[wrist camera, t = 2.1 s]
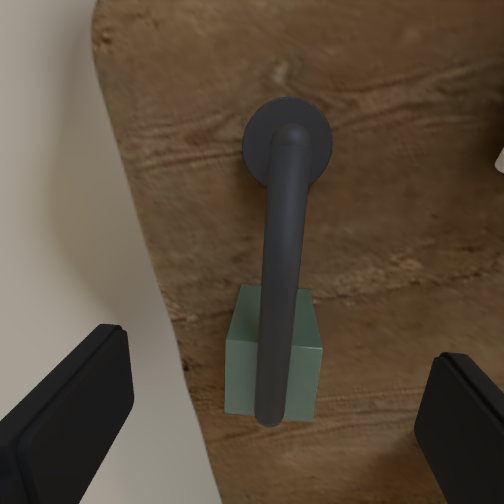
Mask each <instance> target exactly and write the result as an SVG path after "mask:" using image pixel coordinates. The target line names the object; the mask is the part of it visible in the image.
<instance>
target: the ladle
mask: <svg viewBox="0 0 504 504" xmlns="http://www.w3.org/2000/svg"><path fill="white" fill-rule="evenodd" d="M242 149H243V157H244V161H245V164H246V166H247V168H248V170H249V172H250V173H251V175H252V176H253V177H254V178H255V179H256V180H257V181H258V182H259V183H260V184H262V185H263V186H265V187H266V188H267V199H266V215H265V232H264V249H263V266H262V283H261V300H260V317H259V333H258V350H257V367H256V384H255V401H254V414H255V417H256V419H257V421H258V422H259V423H260V424H261V425H263V426H265V427H275V426H277V425H278V424H279V423H280V422H281V421H282V419H283V417H284V413H285V404H286V394H287V385H288V375H289V366H290V356H291V347H292V337H293V328H294V318H295V309H296V299H297V290H298V280H299V271H300V261H301V252H302V242H303V233H304V223H305V214H306V204H307V195H308V186H309V185H310V184H312V183H313V182H314V181H315V180H316V179H317V178H319V176H320V175H321V174H322V173H323V171H324V170H325V168H326V166H327V164H328V162H329V159H330V156H331V152H332V134H331V129H330V126H329V124H328V122H327V120H326V118H325V116H324V115H323V113H322V112H321V111H320V110H319V109H318V108H317V107H316V106H314V105H313V104H311V103H310V102H308V101H306V100H303V99H300V98H294V97H284V98H278V99H275V100H272V101H270V102H268V103H266V104H265V105H263V106H262V107H261V108H260V109H259V110H257V111H256V113H255V114H254V115H253V116H252V118H251V119H250V121H249V122H248V124H247V126H246V129H245V132H244V136H243V144H242Z"/></svg>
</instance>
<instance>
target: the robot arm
mask: <svg viewBox="0 0 504 504" xmlns="http://www.w3.org/2000/svg"><path fill="white" fill-rule="evenodd" d="M133 403H134V391H133V382H132V372H131V363H130V354H129V345H128V336H127V332H126V331H125V330H122V327H121V326H120V325H113V324H112V325H111V324H100V325H98V326H97V327H96V328H95V329H94V330H93V331H92V332H91V333H90V334H89V335H88V336H87V337H86V338H85V339H84V340H83V341H82V342H81V343H80V344H79V345H78V346H77V347H76V348H75V349H74V350H73V351H72V352H71V353H70V354H69V355H68V356H67V357H66V358H64V359H63V360H62V361H61V362H60V363H59V364H58V365H57V366H56V367H55V368H54V369H53V370H52V371H51V372H50V373H49V374H48V375H47V376H46V377H45V378H44V379H43V380H42V381H41V382H40V383H39V384H38V385H37V386H36V387H35V388H34V389H33V390H32V391H31V392H30V393H29V394H28V395H27V396H26V397H25V398H24V399H23V400H22V401H20V402H19V403H18V405H16V406H15V407H14V408H13V409H12V410H11V411H10V412H9V413H8V414H7V415H6V416H5V417H4V418H3V419H2V420H1V421H0V504H79V503H80V501H81V499H82V497H83V495H84V494H85V492H86V490H87V488H88V486H89V485H90V483H91V481H92V479H93V477H94V476H95V474H96V472H97V470H98V468H99V467H100V465H101V463H102V461H103V460H104V458H105V456H106V454H107V453H108V451H109V449H110V447H111V445H112V444H113V442H114V440H115V438H116V436H117V434H118V433H119V431H120V429H121V427H122V426H123V424H124V422H125V420H126V419H127V417H128V415H129V413H130V411H131V409H132V407H133ZM414 432H415V436H416V439H417V441H418V443H419V445H420V447H421V449H422V451H423V453H424V455H425V458H426V460H427V462H428V464H429V466H430V468H431V470H432V472H433V474H434V476H435V478H436V480H437V482H438V484H439V486H440V488H441V490H442V492H443V494H444V496H445V498H446V500H447V503H448V504H504V393H503V392H502V391H501V390H500V389H499V388H498V387H497V386H496V385H495V384H494V383H493V382H492V381H491V379H490V378H489V377H488V376H487V375H486V374H485V373H484V372H483V371H482V370H481V369H480V368H479V367H478V366H477V365H476V364H475V362H474V361H473V360H472V359H471V358H470V357H469V356H467V355H466V354H460V353H448V352H443V353H441V354H440V356H439V357H436V358H434V361H433V364H432V367H431V370H430V374H429V377H428V381H427V384H426V387H425V391H424V394H423V397H422V401H421V404H420V408H419V411H418V414H417V418H416V421H415V425H414Z"/></svg>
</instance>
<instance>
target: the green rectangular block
mask: <svg viewBox="0 0 504 504" xmlns="http://www.w3.org/2000/svg"><path fill="white" fill-rule="evenodd" d="M260 300H261V286H259V285H246V284H241V286H240V290H239V293H238V297H237V301H236V304H235V308H234V312H233V315H232V319H231V323H230V326H229V330H228V334H227V337H226V352H225V413H230V414H240V415H249V416H255V414H254V401H255V384H256V367H257V350H258V333H259V317H260ZM322 354H323V345H322V341H321V337H320V332H319V328H318V323H317V319H316V314H315V310H314V305H313V301H312V297H311V292H310V289H299V288H298V290H297V299H296V309H295V318H294V328H293V337H292V347H291V356H290V366H289V375H288V385H287V394H286V404H285V413H284V417H283V419H287V420H297V421H306V422H312V421H313V414H314V408H315V401H316V394H317V388H318V381H319V374H320V368H321V361H322Z"/></svg>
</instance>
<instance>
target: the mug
mask: <svg viewBox="0 0 504 504" xmlns="http://www.w3.org/2000/svg"><path fill="white" fill-rule="evenodd" d="M495 167H496V169H497V170H499V171H500V172H502V173H504V148H503V150H502V151H501V153H500V155H499V157H498V159H497V160H496V162H495Z"/></svg>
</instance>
